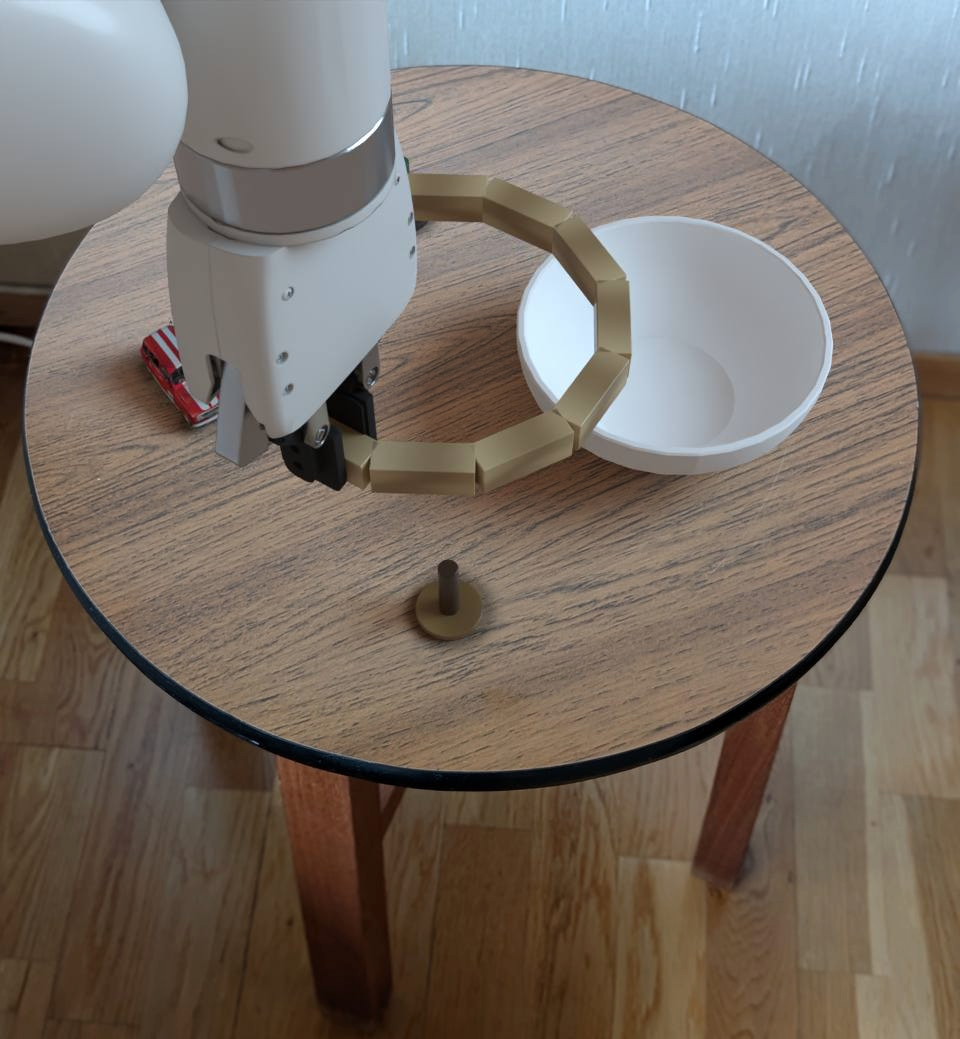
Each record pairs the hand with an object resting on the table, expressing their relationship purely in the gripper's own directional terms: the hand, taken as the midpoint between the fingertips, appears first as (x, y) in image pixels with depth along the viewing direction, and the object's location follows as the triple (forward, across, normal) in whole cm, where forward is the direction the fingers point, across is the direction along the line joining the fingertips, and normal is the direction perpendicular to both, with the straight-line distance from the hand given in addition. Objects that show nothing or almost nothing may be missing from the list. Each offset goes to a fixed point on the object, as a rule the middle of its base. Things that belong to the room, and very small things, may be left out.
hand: (330, 454), depth 60 cm
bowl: (+21, -27, +6) cm, 34 cm away
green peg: (+21, -32, -18) cm, 42 cm away
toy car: (+21, -11, -22) cm, 32 cm away
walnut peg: (+21, -6, +2) cm, 22 cm away
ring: (0, -8, 0) cm, 9 cm away
